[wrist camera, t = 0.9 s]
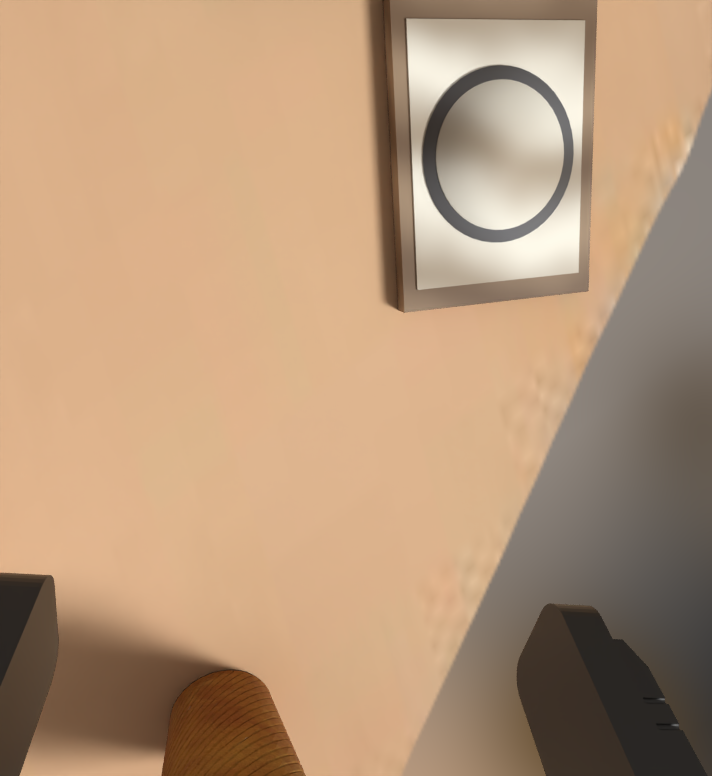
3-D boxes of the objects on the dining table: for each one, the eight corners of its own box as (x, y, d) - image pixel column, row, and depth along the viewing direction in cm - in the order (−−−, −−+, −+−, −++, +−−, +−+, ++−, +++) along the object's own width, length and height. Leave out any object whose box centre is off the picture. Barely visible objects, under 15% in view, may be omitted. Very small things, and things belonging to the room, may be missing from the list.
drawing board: (382, -2, 33) (391, -11, 31) (586, 2, 36) (601, -6, 34) (398, 310, 37) (406, 313, 36) (578, 289, 40) (591, 291, 39)
